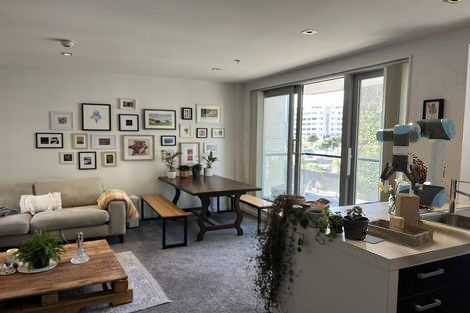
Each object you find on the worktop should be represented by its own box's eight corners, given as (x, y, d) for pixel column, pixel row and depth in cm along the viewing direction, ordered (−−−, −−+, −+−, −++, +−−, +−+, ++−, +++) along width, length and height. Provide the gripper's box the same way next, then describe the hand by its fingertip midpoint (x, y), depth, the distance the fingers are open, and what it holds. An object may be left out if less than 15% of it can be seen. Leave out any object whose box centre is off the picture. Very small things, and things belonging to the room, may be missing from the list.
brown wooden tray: (380, 226, 198) (380, 218, 198) (432, 240, 175) (433, 230, 175) (361, 231, 187) (361, 223, 187) (414, 246, 164) (415, 236, 163)
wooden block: (417, 232, 189) (420, 196, 188) (398, 230, 191) (400, 195, 190) (412, 227, 199) (414, 193, 197) (394, 226, 201) (395, 192, 199)
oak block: (393, 234, 185) (394, 216, 184) (403, 236, 181) (404, 218, 180) (389, 235, 182) (390, 217, 181) (398, 238, 178) (399, 219, 177)
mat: (366, 235, 181) (366, 234, 181) (384, 240, 173) (384, 239, 173) (355, 238, 175) (355, 237, 175) (373, 244, 167) (373, 243, 167)
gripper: (374, 152, 186) (372, 191, 187) (421, 156, 166) (418, 198, 167) (382, 152, 190) (380, 190, 192) (428, 155, 170) (426, 197, 172)
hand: (398, 194), depth 179 cm, fingers open, 13 cm apart
